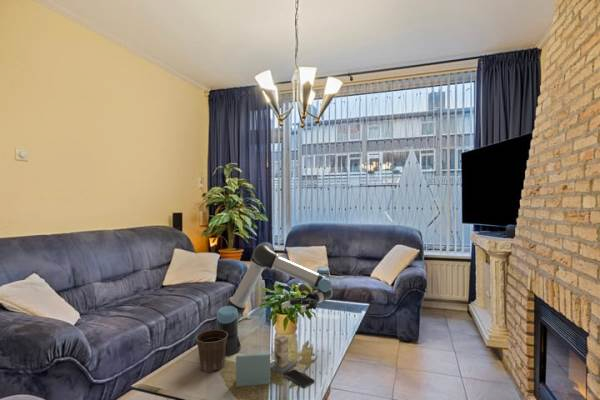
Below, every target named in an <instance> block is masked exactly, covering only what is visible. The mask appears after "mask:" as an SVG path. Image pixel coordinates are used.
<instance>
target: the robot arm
mask: <svg viewBox="0 0 600 400" xmlns="http://www.w3.org/2000/svg"><path fill="white" fill-rule="evenodd" d="M265 269H269V270H277V271H278V272H281V273H283V274H285V275H287V276H290V277H292V278H295V279H297V280H299V281H302V282H303V283H306V284H309V285H311V286H312V287H316V290H314V291H312V292H308V293H307V294H306V296H304V297H302V296H298V297H293V298H288V299H287V298H286V301H284V302H282V303H281V309H286V308H288V307H290V306H292V305H302V306H301V307H300V313H304V312H306V311H309V310H314V311H315V310H316V309H317V307H318V306H319V304H320V303H323V302H325V301H328V300H330V299H331V298H333V297H332V296H333V294H334V291H333V289H332V281H331V277H330V269H329V268H328V267H321V268H317V270H316V271H313V270H311V269H309V268H307V267H304V266H302V265H300V264H297V263H295V262H292V261H291V260H288V259H287V258H284V257H282V256H280V255H279V254H278V253H276V252H275V248H274V246H273V245H272V244H271V243H270V242H267V241H263V242H261V243H259V244H257V246H255V248H254V250H253V252H252V255H251V258H250V264H249V266H248V268H247V270H246V272H245V273H244V275H243V278H241V279H242V280H241V281H240V283H239V285H238V287H237V288H236V291H235V293H234V294H233V296H230V297H229V298H228V300H227V302H226V304H225V306H223V307H219V309H218V310H217V313H216V330H223V331H226V332H227V333H228V337H227V343H226V349H225V356H230V355H235V354H237V353H238V352H240V351H241V349H242V346H241V340H240V338H239V333H238V331H239V326H238V325H239V322H240V320H241V318H242V317H243V314H244V312H245V310H246V308H247V301H248V299H249V298H250V296H251V294H252V292H253V290H254V288H255V286H256V284H257V282H258V280H259V279H260V276H261V275H262V273H263V271H264V270H265Z"/></svg>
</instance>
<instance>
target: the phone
mask: <svg viewBox="0 0 600 400" xmlns="http://www.w3.org/2000/svg"><path fill="white" fill-rule="evenodd" d="M282 375H283V378H286V379H287V380H289V381H291V382H292V383H293V384H295V385H297V386H299V387H300V388H303V389H306V387H309V386H311V385H312V384H315V379H314V378H313V377H312V378H311V377H310V376H308V375H306V374H305V373H303V372H301V371H299V370H297V369H293V368H292V369H290V370H288V371H287V372H285V373H284V374H282Z"/></svg>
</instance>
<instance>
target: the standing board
mask: <svg viewBox="0 0 600 400" xmlns="http://www.w3.org/2000/svg"><path fill="white" fill-rule="evenodd" d="M270 363H271V354H270V353H256V354H255V353H254V354H238V355H235V387H245V386H247V387H248V386H260V385H262V386H263V385H270V384H271V369H270Z"/></svg>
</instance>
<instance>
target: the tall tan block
mask: <svg viewBox="0 0 600 400" xmlns="http://www.w3.org/2000/svg"><path fill="white" fill-rule="evenodd" d="M274 361H275V365H276V366H278V367H281V368H283V367H284V366H286V365H287V364H288V361H289V337H287V336H284V335H282V334H280V335H278V336H276V337H274Z"/></svg>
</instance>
